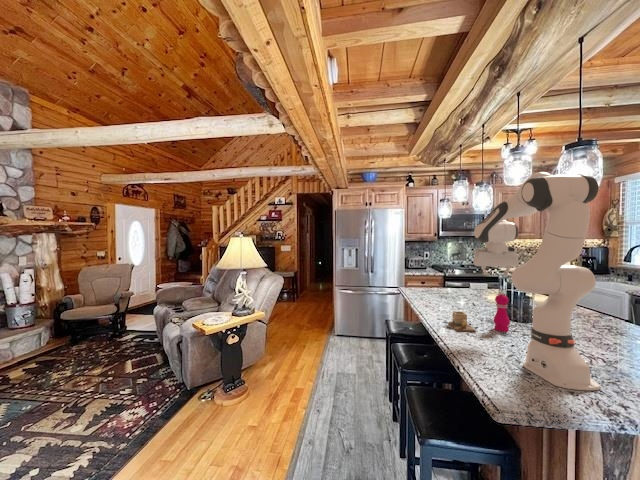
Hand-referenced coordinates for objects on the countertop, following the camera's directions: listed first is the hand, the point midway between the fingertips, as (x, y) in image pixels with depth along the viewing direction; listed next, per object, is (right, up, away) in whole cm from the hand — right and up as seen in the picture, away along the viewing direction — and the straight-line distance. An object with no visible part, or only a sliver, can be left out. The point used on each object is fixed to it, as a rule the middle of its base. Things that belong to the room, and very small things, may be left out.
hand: (495, 275), depth 146 cm
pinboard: (-14, -29, +8) cm, 33 cm away
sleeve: (-13, -28, +11) cm, 33 cm away
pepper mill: (+6, -29, +4) cm, 30 cm away
